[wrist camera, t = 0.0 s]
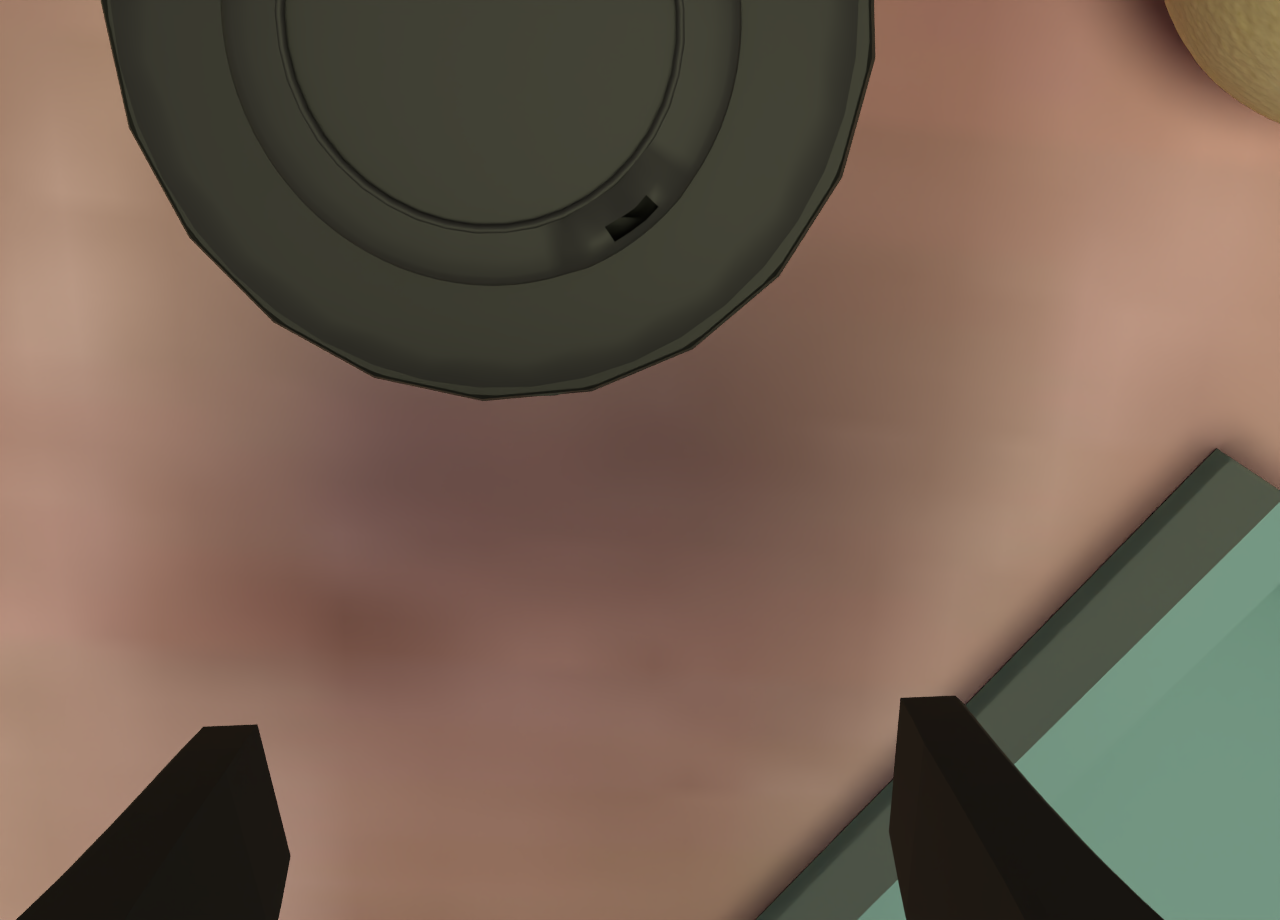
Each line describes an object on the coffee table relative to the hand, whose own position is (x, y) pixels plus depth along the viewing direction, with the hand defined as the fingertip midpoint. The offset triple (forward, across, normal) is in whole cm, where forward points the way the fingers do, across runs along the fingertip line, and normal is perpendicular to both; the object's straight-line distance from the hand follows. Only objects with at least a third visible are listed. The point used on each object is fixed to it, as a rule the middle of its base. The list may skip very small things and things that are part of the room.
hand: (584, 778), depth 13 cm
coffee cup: (+12, +1, -6) cm, 13 cm away
